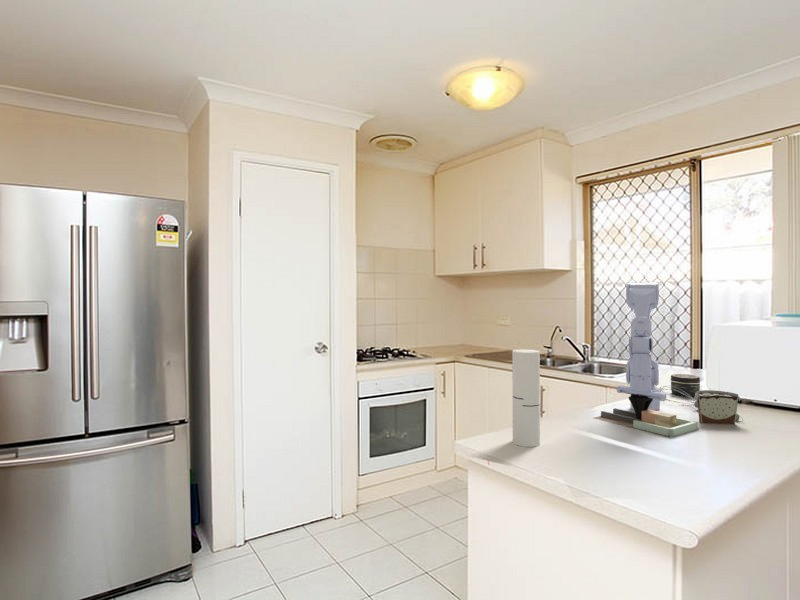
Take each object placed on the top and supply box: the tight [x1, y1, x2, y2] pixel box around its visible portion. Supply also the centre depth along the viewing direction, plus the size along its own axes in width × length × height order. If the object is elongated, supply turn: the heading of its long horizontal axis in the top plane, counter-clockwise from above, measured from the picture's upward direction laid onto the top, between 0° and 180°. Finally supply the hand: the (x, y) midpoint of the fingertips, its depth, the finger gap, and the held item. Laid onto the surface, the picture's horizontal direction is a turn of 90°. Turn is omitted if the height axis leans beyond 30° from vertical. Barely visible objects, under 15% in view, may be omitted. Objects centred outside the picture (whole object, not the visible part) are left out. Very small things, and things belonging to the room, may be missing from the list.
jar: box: [670, 373, 701, 398], centre depth 184 cm, size 10×10×8 cm
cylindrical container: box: [511, 348, 541, 448], centre depth 126 cm, size 7×7×25 cm
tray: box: [633, 417, 699, 438], centre depth 135 cm, size 14×11×2 cm
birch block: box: [655, 411, 677, 428], centre depth 135 cm, size 4×4×4 cm
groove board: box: [593, 408, 700, 439], centre depth 141 cm, size 16×24×2 cm, turn 31°
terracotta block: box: [642, 409, 662, 425], centre depth 139 cm, size 4×4×4 cm
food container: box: [693, 389, 741, 425], centre depth 143 cm, size 12×6×10 cm, turn 84°
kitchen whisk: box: [658, 385, 744, 423], centre depth 161 cm, size 6×34×6 cm, turn 13°
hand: (640, 419), depth 142 cm, fingers closed
